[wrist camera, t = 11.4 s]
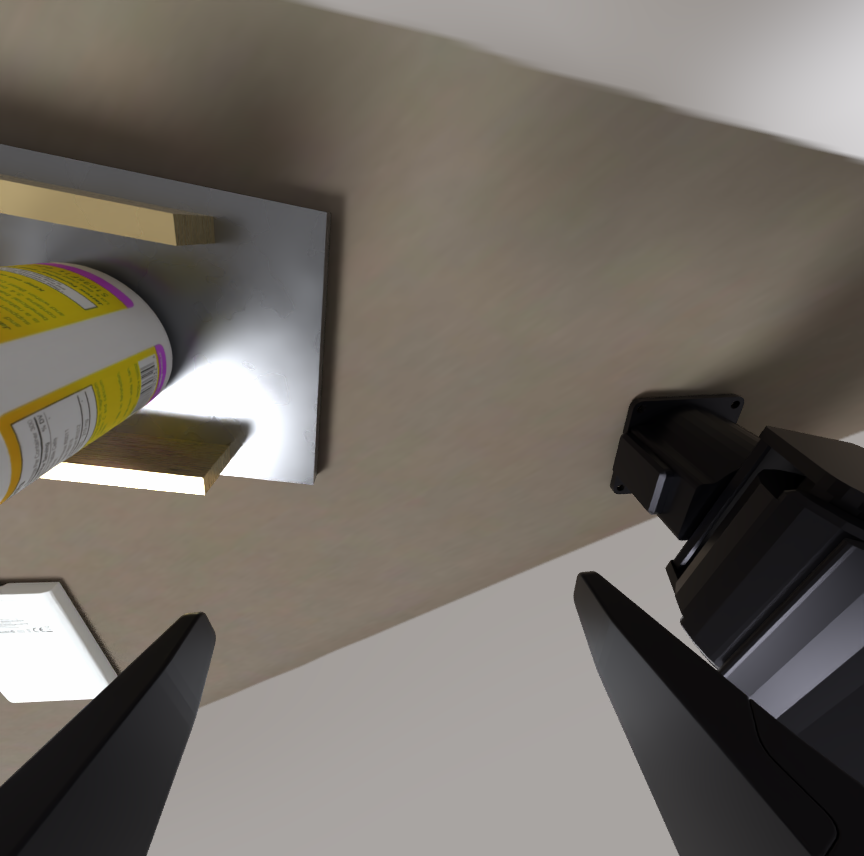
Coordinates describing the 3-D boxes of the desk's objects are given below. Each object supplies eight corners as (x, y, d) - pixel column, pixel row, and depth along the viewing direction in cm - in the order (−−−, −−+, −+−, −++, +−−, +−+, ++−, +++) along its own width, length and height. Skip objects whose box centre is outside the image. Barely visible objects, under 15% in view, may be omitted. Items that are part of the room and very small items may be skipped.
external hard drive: (24, 681, 31) (-63, 578, 25) (128, 677, 32) (66, 574, 26) (6, 703, 30) (-91, 599, 24) (114, 698, 30) (46, 595, 25)
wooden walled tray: (331, 213, 16) (310, 208, 13) (316, 474, 23) (300, 520, 19) (-228, 96, 14) (-449, 49, 10) (-68, 430, 20) (-170, 473, 16)
